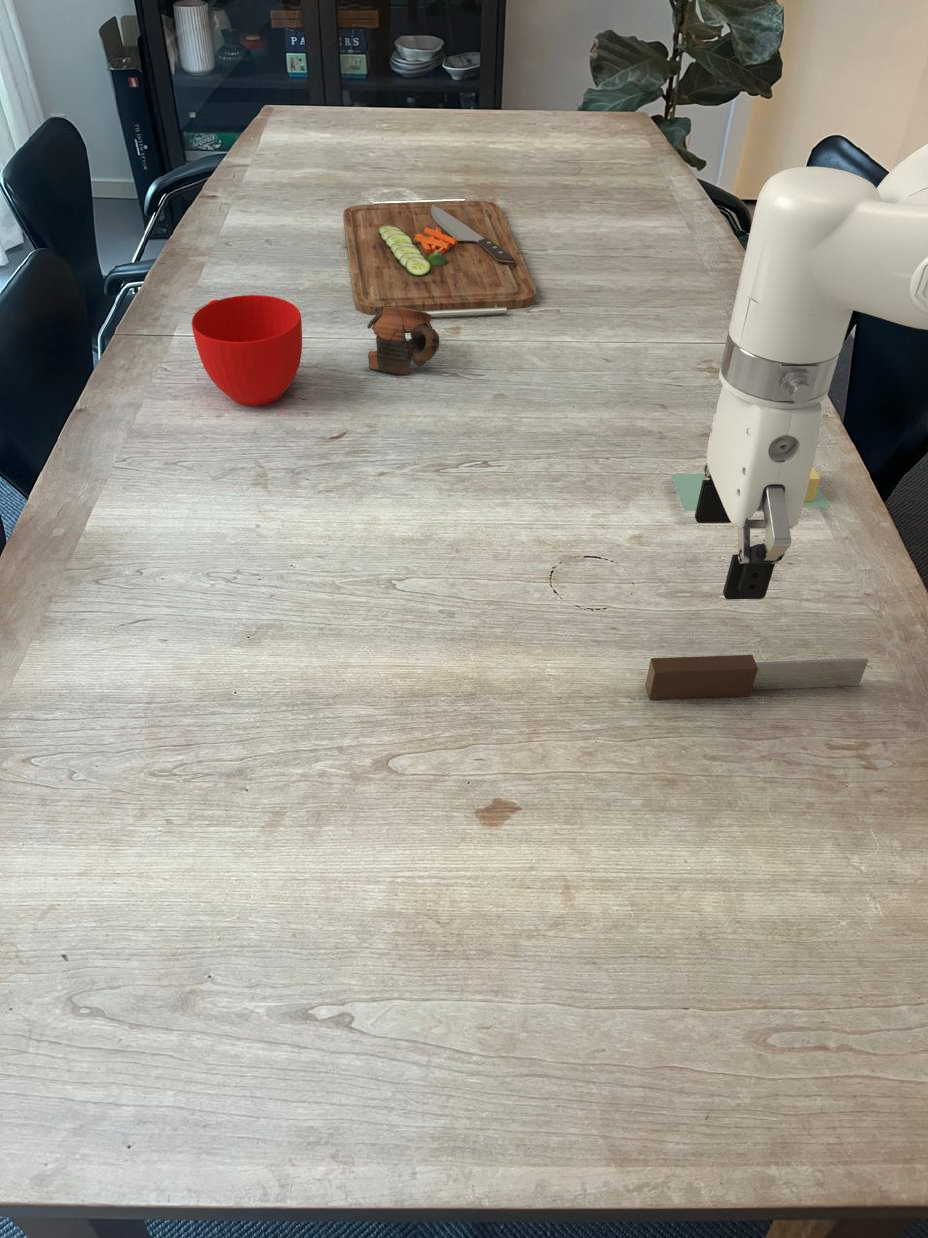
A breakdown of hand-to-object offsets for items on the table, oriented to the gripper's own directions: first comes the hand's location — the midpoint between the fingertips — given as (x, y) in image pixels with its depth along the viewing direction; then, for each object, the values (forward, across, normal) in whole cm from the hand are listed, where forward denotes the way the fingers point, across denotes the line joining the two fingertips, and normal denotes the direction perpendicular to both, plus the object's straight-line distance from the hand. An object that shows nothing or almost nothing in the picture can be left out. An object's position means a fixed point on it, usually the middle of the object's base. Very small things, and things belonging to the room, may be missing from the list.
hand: (727, 557), depth 81 cm
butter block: (+12, +27, -14) cm, 33 cm away
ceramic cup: (+14, +54, +46) cm, 72 cm away
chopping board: (+14, +95, +21) cm, 98 cm away
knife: (+14, -2, -4) cm, 14 cm away
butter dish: (+14, +27, -12) cm, 33 cm away
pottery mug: (+14, +60, +26) cm, 67 cm away
